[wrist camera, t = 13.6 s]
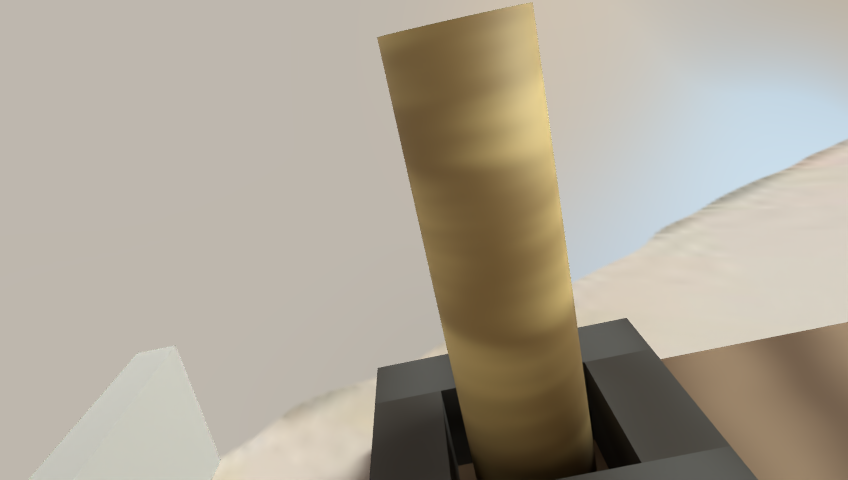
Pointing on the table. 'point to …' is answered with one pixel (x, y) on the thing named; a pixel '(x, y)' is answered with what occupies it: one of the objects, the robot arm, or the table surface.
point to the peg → (494, 237)
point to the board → (774, 402)
